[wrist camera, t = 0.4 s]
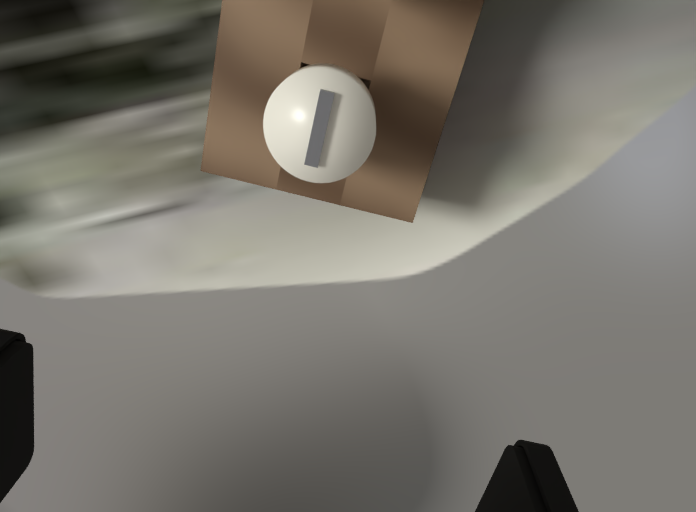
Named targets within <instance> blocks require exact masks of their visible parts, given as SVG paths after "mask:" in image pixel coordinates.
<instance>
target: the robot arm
mask: <svg viewBox="0 0 696 512" xmlns="http://www.w3.org/2000/svg"><path fill="white" fill-rule="evenodd" d="M33 390H34V386H33V346H32V345H31V344H30V343H26V341H25V337H24V335H23V334H21V333H17V332H13V331H8V330H3V329H0V503H1V501H2V500H3V498H4V497H5V496H6V495H7V493H8V492H9V491H10V489H11V488H12V487H13V485H14V484H15V483H16V481H17V480H18V479H19V477H20V476H21V474H23V472H24V471H25V469H26V468H27V467H28V465H29V463H30V460H31V458H32V455H33V452H34V391H33ZM475 512H578V509H577V507H576V505H575V502H574V500H573V498H572V495H571V494H570V491H569V488H568V486H567V484H566V481H565V479H564V477H563V474H562V472H561V470H560V468H559V465H558V463H557V461H556V458H555V456H554V454H553V451H552V450H551V449H550V447H549V446H547V445H544V444H539V443H534V442H529V441H524V440H518V441H517V442H516V443H515V445H514V446H512V445H508V446H507V447H506V448H505V450H504V452H503V454H502V456H501V459H500V461H499V463H498V465H497V467H496V469H495V471H494V473H493V475H492V477H491V480H490V481H489V484H488V486H487V488H486V490H485V492H484V494H483V496H482V498H481V500H480V502H479V504H478V507H477V509H476V511H475Z"/></svg>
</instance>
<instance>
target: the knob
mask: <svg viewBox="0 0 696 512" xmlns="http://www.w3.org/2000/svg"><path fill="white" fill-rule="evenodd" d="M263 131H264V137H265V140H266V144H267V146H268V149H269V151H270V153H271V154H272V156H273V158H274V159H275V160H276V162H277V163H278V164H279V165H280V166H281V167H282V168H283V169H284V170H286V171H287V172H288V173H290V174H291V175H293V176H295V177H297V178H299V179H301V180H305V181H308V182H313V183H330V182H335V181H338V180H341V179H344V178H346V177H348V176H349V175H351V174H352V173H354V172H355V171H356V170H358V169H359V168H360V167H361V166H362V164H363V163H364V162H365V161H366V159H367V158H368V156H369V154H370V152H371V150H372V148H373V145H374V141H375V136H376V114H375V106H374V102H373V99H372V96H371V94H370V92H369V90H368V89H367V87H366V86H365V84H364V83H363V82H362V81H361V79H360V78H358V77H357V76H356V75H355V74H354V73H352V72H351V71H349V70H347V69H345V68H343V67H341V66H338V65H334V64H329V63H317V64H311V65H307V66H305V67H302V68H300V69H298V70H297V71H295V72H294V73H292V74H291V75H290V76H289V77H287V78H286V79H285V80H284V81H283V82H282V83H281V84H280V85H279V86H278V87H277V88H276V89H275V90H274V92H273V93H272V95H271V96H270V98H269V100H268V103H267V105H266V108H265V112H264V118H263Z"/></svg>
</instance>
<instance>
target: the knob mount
mask: <svg viewBox="0 0 696 512" xmlns="http://www.w3.org/2000/svg"><path fill="white" fill-rule="evenodd" d="M483 3H484V0H222V8H221V16H220V24H219V32H218V39H217V47H216V55H215V63H214V71H213V78H212V86H211V94H210V102H209V110H208V117H207V125H206V133H205V141H204V149H203V156H202V164H201V171H203V172H207V173H211V174H215V175H219V176H224V177H228V178H232V179H236V180H240V181H244V182H248V183H252V184H256V185H260V186H264V187H268V188H272V189H277V190H281V191H285V192H289V193H293V194H297V195H301V196H305V197H309V198H313V199H317V200H321V201H326V202H330V203H334V204H338V205H342V206H346V207H350V208H354V209H358V210H362V211H366V212H370V213H374V214H379V215H383V216H387V217H391V218H395V219H399V220H403V221H407V222H411V223H413V220H414V217H415V214H416V210H417V207H418V204H419V201H420V198H421V195H422V192H423V189H424V186H425V183H426V179H427V176H428V173H429V170H430V167H431V164H432V161H433V158H434V155H435V152H436V148H437V145H438V142H439V139H440V136H441V133H442V130H443V127H444V124H445V121H446V117H447V114H448V111H449V108H450V105H451V102H452V99H453V96H454V93H455V90H456V86H457V83H458V80H459V77H460V74H461V71H462V68H463V65H464V62H465V59H466V55H467V52H468V49H469V46H470V43H471V40H472V37H473V34H474V31H475V28H476V24H477V21H478V18H479V15H480V12H481V9H482V6H483ZM317 63H329V64H334V65H338V66H341V67H343V68H345V69H347V70H349V71H351V72H352V73H354V74H355V75H356V76H357V77H358V78H360V79H361V81H362V82H363V83H364V84H365V86H366V87H367V89H368V90H369V92H370V94H371V96H372V99H373V102H374V106H375V114H376V136H375V141H374V145H373V148H372V150H371V152H370V154H369V156H368V158H367V159H366V161H365V162H364V163H363V164H362V166H361V167H360V168H359V169H358V170H356V171H355V172H354V173H352V174H351V175H349V176H348V177H346V178H344V179H341V180H338V181H335V182H330V183H313V182H308V181H305V180H301V179H299V178H297V177H295V176H293V175H291V174H290V173H288V172H287V171H286V170H284V169H283V168H282V167H281V166H280V165H279V164H278V163H277V162H276V160H275V159H274V158H273V156H272V154H271V153H270V151H269V149H268V146H267V144H266V140H265V137H264V131H263V118H264V112H265V108H266V105H267V103H268V100H269V98H270V96H271V95H272V93H273V92H274V90H275V89H276V88H277V87H278V86H279V85H280V84H281V83H282V82H283V81H284V80H285V79H286V78H287V77H289V76H290V75H291V74H292V73H294V72H295V71H297V70H298V69H300V68H302V67H305V66H307V65H311V64H317Z"/></svg>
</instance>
